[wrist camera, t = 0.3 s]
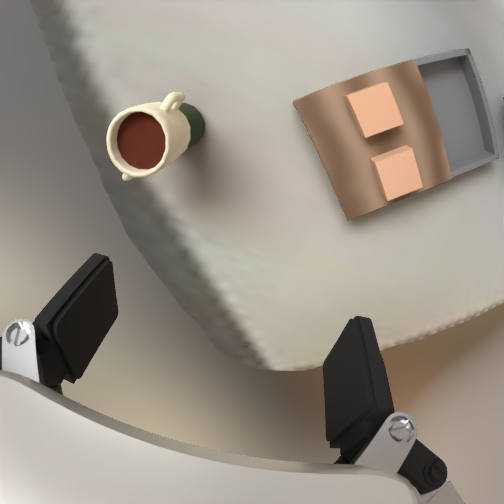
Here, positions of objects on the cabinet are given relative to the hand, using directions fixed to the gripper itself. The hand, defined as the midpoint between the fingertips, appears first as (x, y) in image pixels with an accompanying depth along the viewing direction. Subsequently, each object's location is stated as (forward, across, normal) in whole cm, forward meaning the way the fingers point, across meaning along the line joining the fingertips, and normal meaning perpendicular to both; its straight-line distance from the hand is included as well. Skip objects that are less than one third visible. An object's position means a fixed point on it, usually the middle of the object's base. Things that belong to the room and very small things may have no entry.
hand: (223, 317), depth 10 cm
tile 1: (+25, -15, -4) cm, 29 cm away
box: (+29, -23, -15) cm, 40 cm away
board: (+29, -13, -7) cm, 32 cm away
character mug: (+29, +12, -2) cm, 32 cm away
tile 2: (+25, -10, -10) cm, 29 cm away
